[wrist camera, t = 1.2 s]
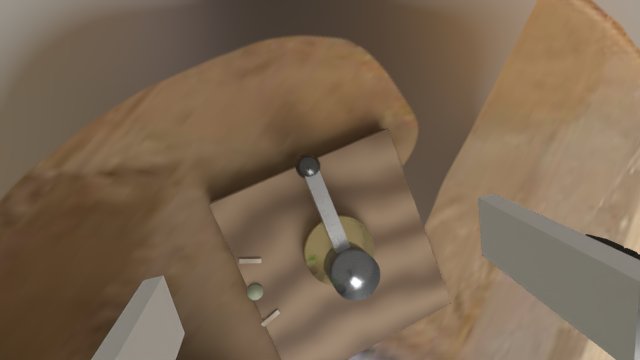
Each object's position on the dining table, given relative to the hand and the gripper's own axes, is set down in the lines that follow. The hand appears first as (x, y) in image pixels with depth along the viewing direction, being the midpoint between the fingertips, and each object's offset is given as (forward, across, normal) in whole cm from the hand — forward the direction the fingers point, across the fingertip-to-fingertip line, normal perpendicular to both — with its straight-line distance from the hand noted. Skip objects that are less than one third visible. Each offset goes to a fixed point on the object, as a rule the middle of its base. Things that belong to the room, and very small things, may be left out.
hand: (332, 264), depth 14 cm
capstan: (+24, -2, +8) cm, 25 cm away
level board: (+26, -3, +14) cm, 29 cm away
